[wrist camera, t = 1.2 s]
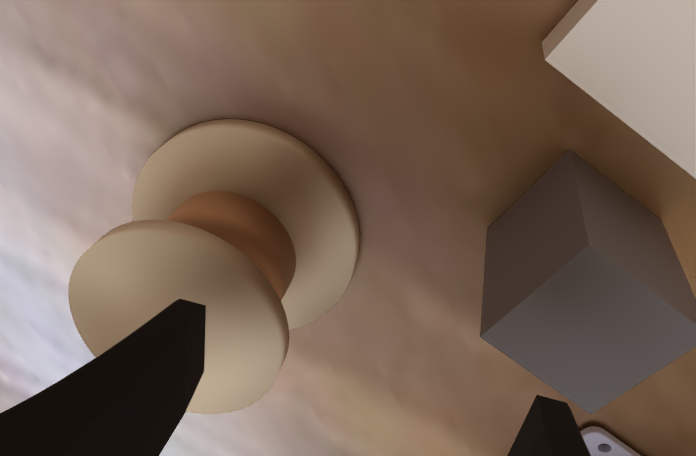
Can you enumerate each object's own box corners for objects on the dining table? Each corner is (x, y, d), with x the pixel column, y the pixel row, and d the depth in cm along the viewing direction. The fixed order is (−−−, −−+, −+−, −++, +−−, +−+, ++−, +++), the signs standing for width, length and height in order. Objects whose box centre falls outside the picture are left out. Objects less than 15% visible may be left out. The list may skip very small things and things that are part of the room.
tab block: (661, 219, 20) (711, 336, 15) (572, 291, 22) (590, 414, 17) (568, 148, 20) (589, 245, 14) (487, 228, 22) (480, 336, 17)
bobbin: (406, 217, 22) (372, 330, 17) (287, 350, 27) (230, 471, 21) (200, 69, 21) (92, 137, 16) (114, 235, 26) (8, 332, 20)
